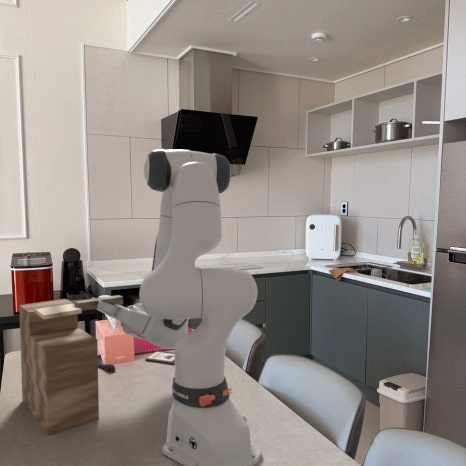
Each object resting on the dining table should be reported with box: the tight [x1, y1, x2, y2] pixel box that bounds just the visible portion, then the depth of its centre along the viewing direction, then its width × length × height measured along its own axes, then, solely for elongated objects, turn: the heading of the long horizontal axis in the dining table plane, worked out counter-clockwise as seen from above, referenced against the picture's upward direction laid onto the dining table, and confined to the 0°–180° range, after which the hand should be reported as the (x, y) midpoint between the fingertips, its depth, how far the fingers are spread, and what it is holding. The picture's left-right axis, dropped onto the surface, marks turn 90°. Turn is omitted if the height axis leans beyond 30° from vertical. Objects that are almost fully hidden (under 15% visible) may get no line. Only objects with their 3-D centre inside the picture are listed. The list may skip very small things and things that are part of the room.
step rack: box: [18, 298, 100, 436], centre depth 114 cm, size 22×12×26 cm, turn 39°
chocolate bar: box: [144, 350, 175, 366], centre depth 151 cm, size 9×1×18 cm
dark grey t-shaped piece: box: [98, 353, 116, 373], centre depth 144 cm, size 14×15×3 cm
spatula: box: [35, 294, 124, 319], centre depth 114 cm, size 21×7×2 cm, turn 129°
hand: (94, 301), depth 116 cm, fingers closed on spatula, 2 cm apart
